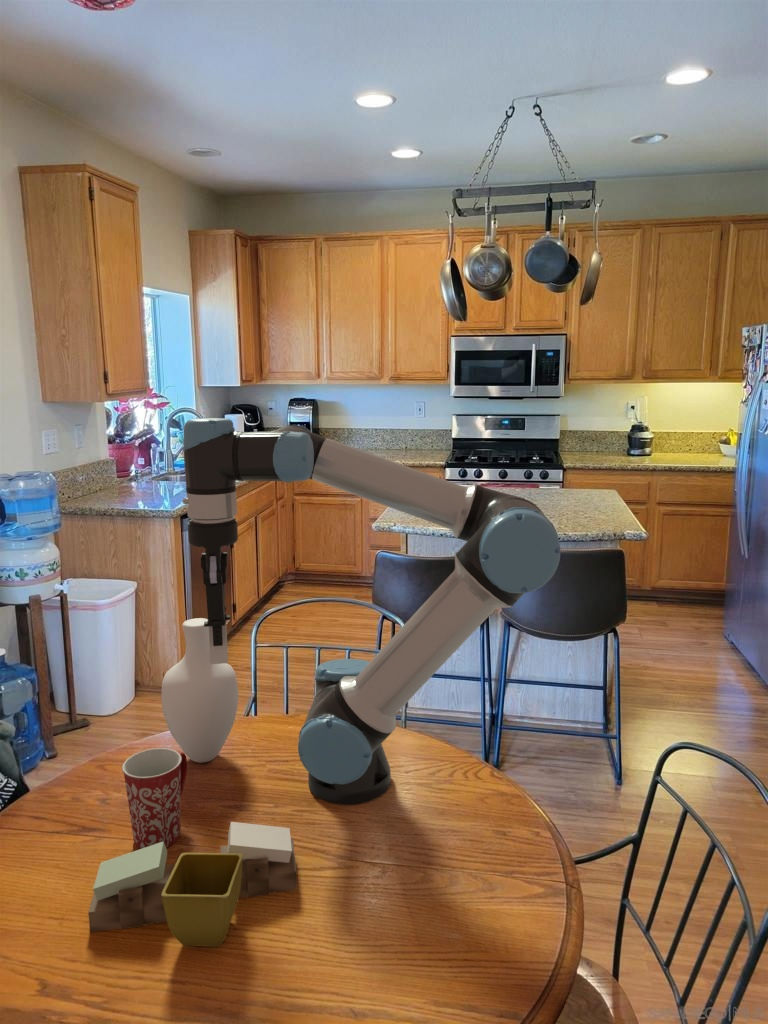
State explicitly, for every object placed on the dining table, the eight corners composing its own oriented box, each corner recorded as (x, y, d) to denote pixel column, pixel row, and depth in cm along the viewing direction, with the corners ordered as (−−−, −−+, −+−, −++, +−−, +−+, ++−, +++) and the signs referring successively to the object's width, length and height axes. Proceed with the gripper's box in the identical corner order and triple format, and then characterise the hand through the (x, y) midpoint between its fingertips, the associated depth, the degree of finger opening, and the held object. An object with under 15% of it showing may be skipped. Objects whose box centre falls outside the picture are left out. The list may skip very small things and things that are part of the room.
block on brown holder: (293, 854, 114) (292, 824, 113) (297, 890, 106) (296, 858, 105) (221, 862, 112) (220, 832, 111) (219, 900, 104) (218, 868, 103)
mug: (162, 861, 112) (156, 781, 110) (115, 848, 116) (109, 770, 113) (210, 816, 124) (206, 743, 121) (166, 805, 127) (162, 733, 125)
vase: (172, 742, 149) (164, 611, 144) (243, 738, 151) (238, 608, 146) (159, 780, 135) (149, 636, 130) (237, 775, 137) (231, 633, 131)
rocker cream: (286, 839, 112) (289, 828, 111) (289, 862, 106) (291, 851, 106) (228, 833, 110) (230, 821, 109) (227, 856, 104) (230, 844, 104)
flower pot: (184, 908, 102) (181, 851, 101) (246, 909, 102) (243, 852, 100) (163, 957, 94) (159, 895, 92) (231, 959, 93) (228, 897, 92)
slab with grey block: (179, 880, 108) (177, 849, 107) (174, 921, 100) (172, 888, 99) (101, 890, 106) (99, 858, 105) (89, 933, 98) (86, 898, 97)
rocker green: (167, 852, 105) (163, 841, 105) (163, 878, 100) (158, 866, 99) (105, 873, 104) (100, 862, 104) (97, 900, 99) (92, 889, 98)
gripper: (190, 511, 119) (197, 649, 123) (184, 527, 106) (192, 680, 110) (237, 510, 120) (243, 645, 124) (236, 525, 107) (242, 676, 112)
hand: (219, 661), depth 117 cm, fingers closed
